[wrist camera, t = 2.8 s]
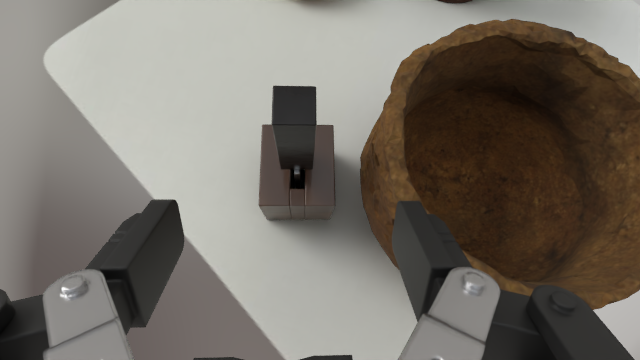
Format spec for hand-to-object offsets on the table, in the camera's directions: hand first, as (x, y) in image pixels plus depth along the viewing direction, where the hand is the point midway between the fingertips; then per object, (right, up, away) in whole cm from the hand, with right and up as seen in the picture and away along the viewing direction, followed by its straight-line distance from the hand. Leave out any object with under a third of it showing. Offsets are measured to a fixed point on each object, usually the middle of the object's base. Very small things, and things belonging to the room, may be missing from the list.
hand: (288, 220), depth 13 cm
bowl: (+13, -1, +21) cm, 25 cm away
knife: (-1, +1, +21) cm, 21 cm away
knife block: (-1, +1, +21) cm, 21 cm away
